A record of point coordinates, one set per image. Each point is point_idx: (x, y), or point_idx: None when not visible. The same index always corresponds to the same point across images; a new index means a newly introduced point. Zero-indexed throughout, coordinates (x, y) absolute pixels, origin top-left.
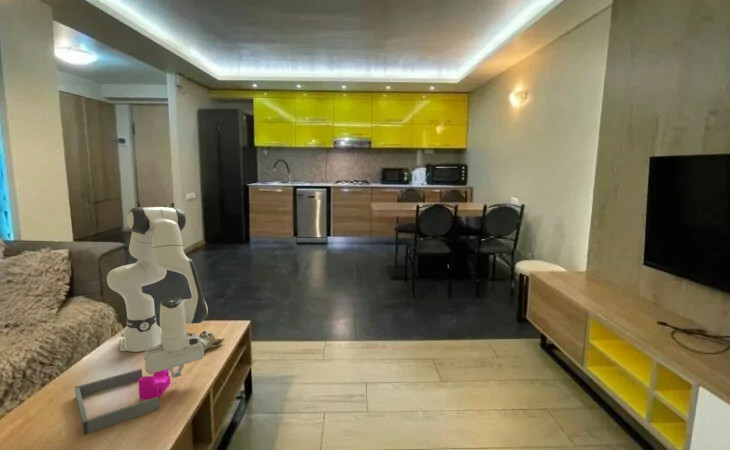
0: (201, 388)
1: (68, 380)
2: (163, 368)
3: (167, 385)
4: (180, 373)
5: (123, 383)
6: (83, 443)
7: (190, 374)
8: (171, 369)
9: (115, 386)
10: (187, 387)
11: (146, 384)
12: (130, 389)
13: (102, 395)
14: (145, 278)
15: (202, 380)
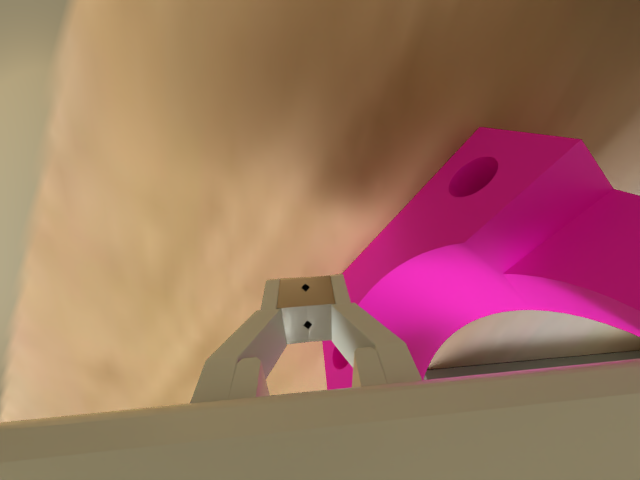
0: (107, 56)
1: None
2: (583, 404)
3: (363, 260)
4: (269, 294)
5: (501, 369)
6: None
7: (206, 319)
8: (383, 357)
9: (528, 363)
10: (241, 168)
11: None
12: (503, 322)
13: (598, 329)
14: None
15: (114, 208)
